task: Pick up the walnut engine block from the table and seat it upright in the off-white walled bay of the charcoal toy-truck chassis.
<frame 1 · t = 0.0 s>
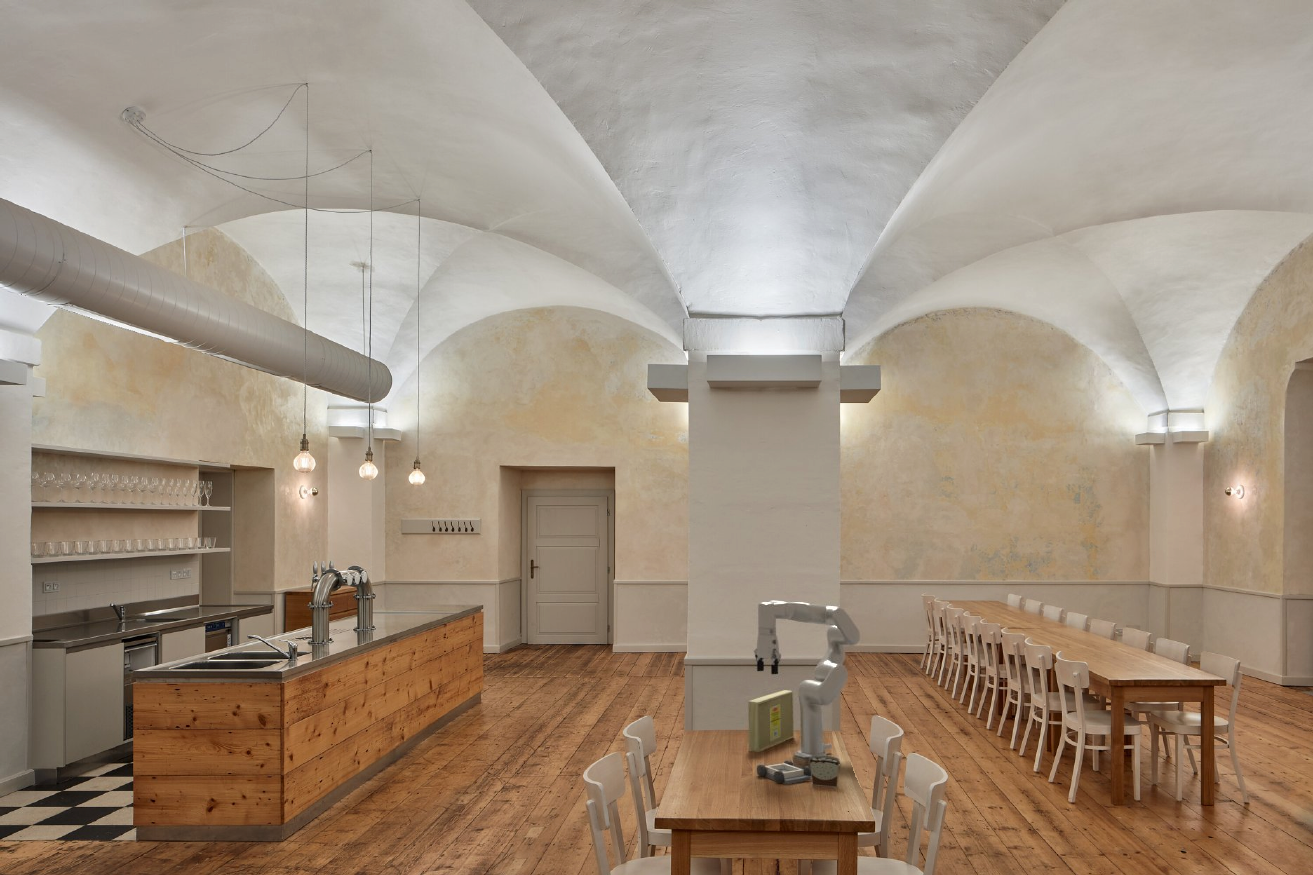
hand: (767, 672, 394), 37 cm above the table, tool pointing down, fingers open, 9 cm apart
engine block: (803, 770, 376), on the table
toy vehicle set: (772, 744, 422), on the table
food container: (825, 784, 355), on the table
chassis: (784, 777, 365), on the table
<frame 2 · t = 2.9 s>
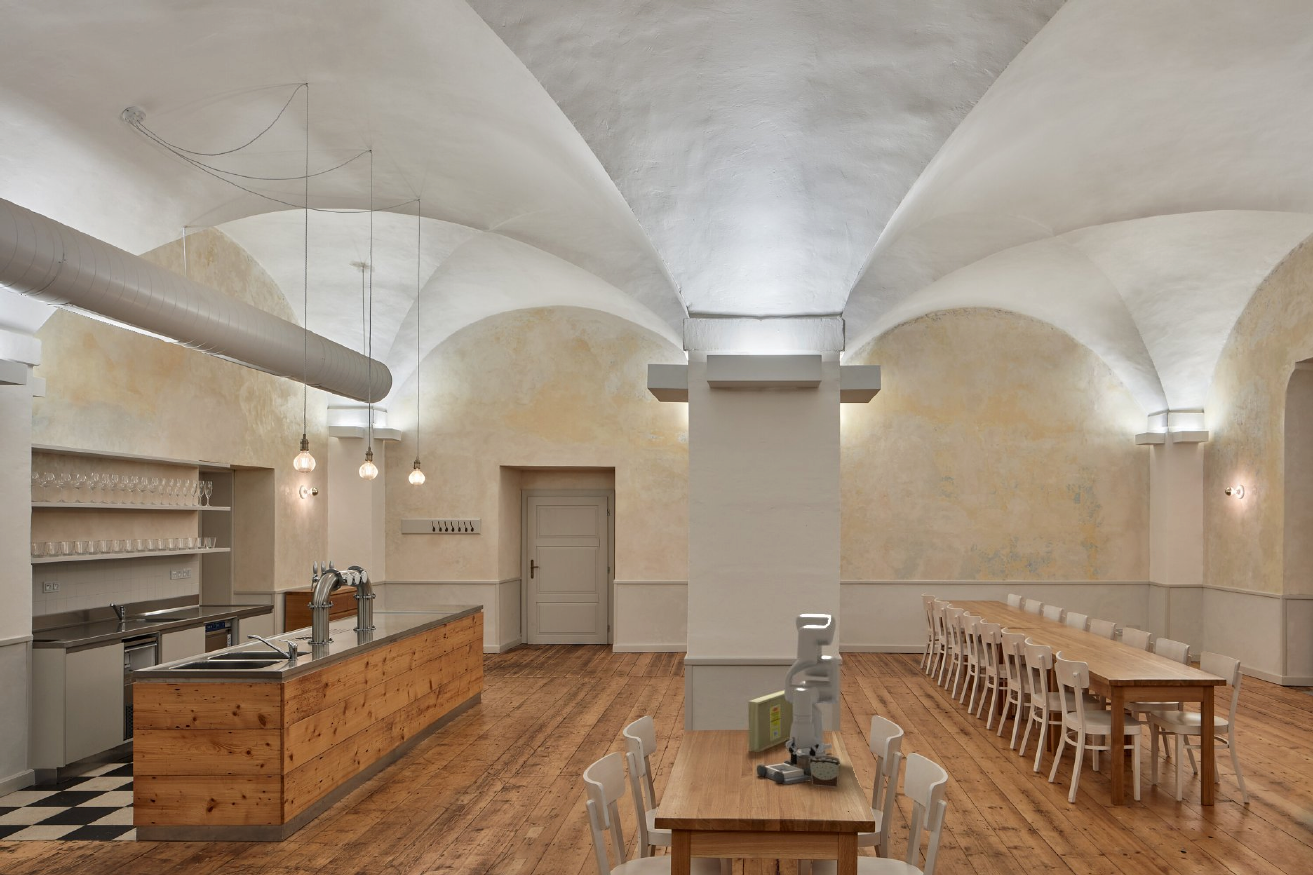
hand: (803, 762, 376), 3 cm above the table, tool pointing down, fingers open, 9 cm apart
nothing on the table moved.
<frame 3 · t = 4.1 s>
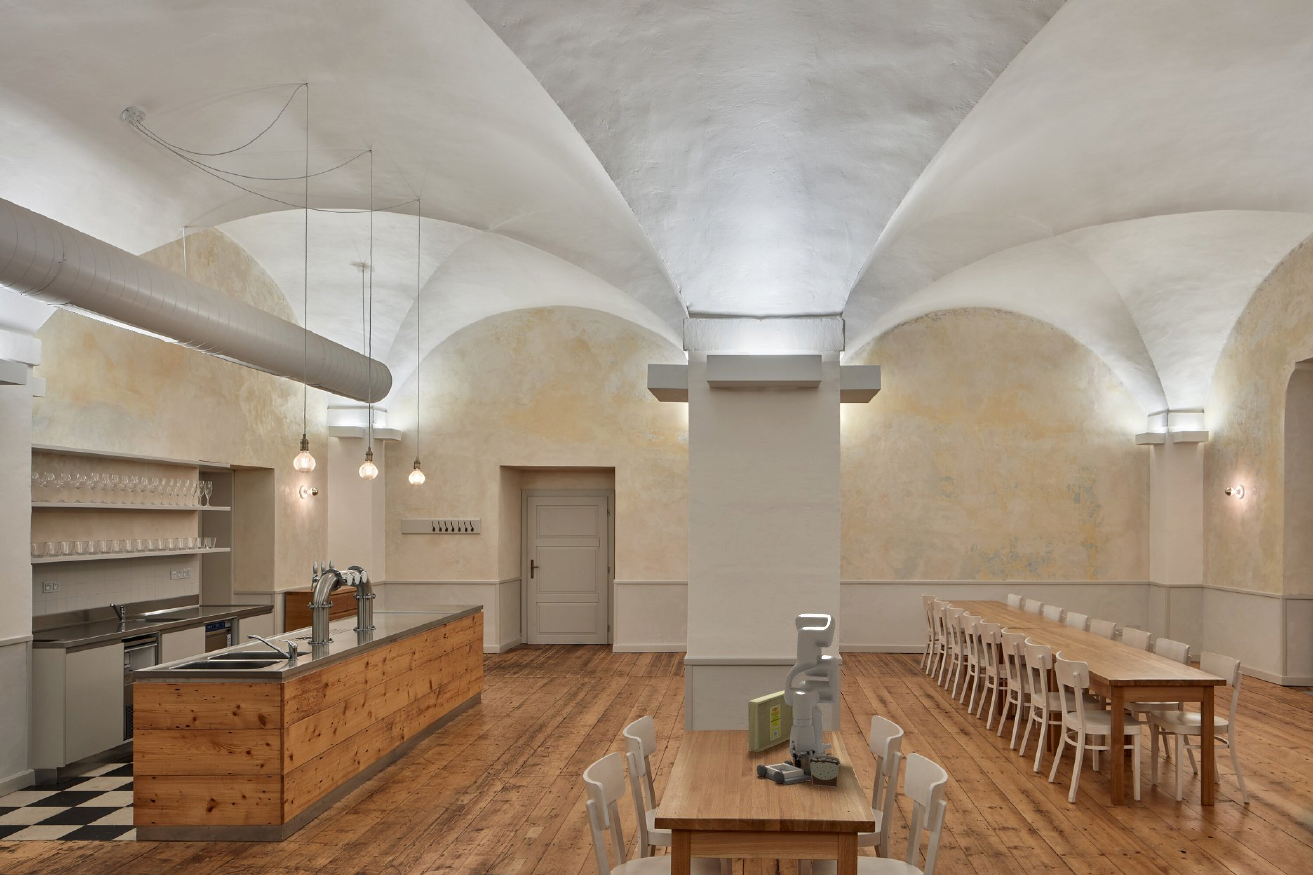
hand: (803, 767, 376), 1 cm above the table, tool pointing down, fingers closed on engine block, 5 cm apart
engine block: (803, 769, 376), on the table, touching gripper
everything else where it was.
when the fingers open (4 cm above the table, at t = 10.2 s): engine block drops 1 cm, resting on chassis.
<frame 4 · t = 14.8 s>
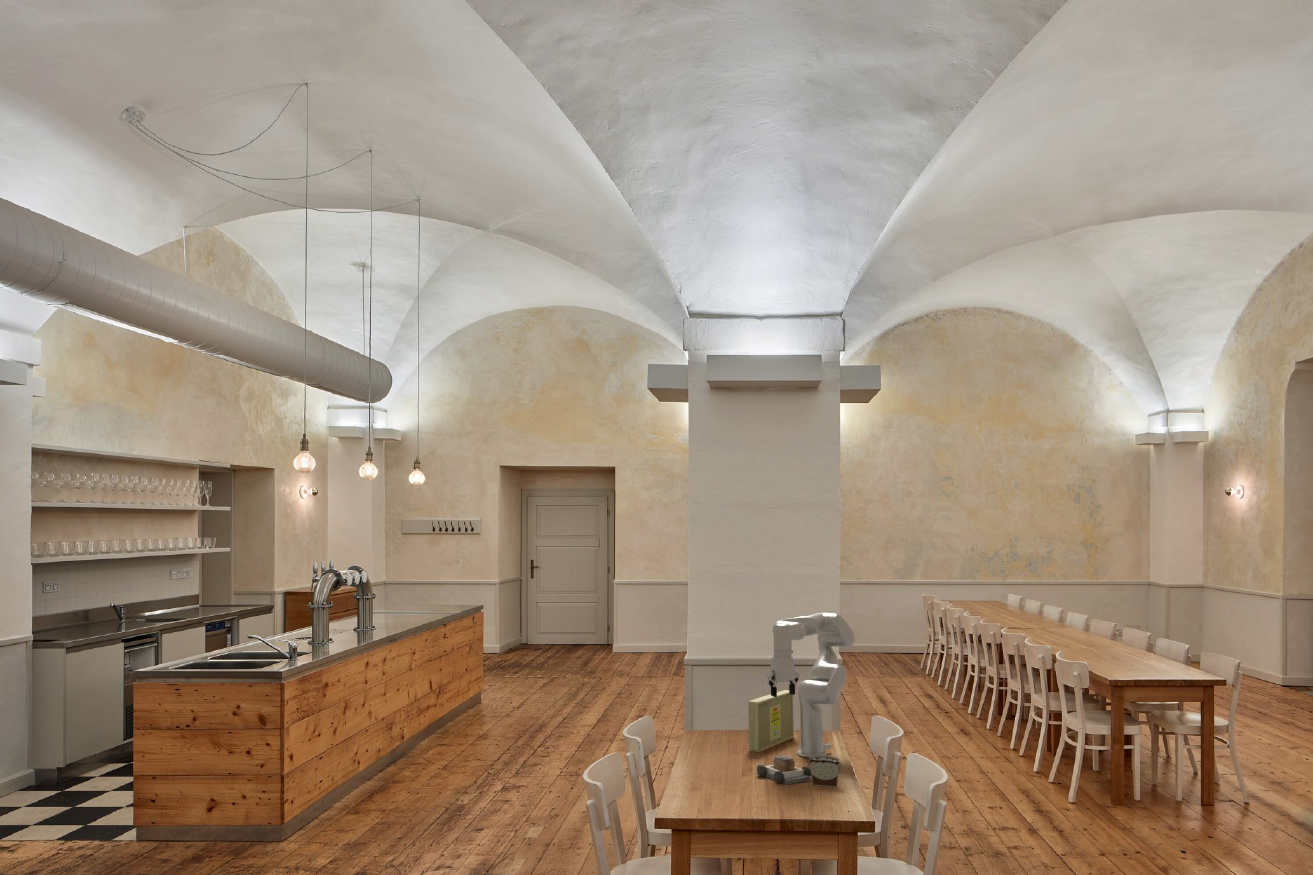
hand: (783, 695, 387), 28 cm above the table, tool pointing down, fingers open, 9 cm apart
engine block: (784, 773, 365), point 1 cm above the table, touching chassis
everything else where it was.
at the end: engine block 0.2 cm off-centre on the chassis, point 1.5 cm above the chassis's base; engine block tilted 0°; the gripper is holding nothing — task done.
